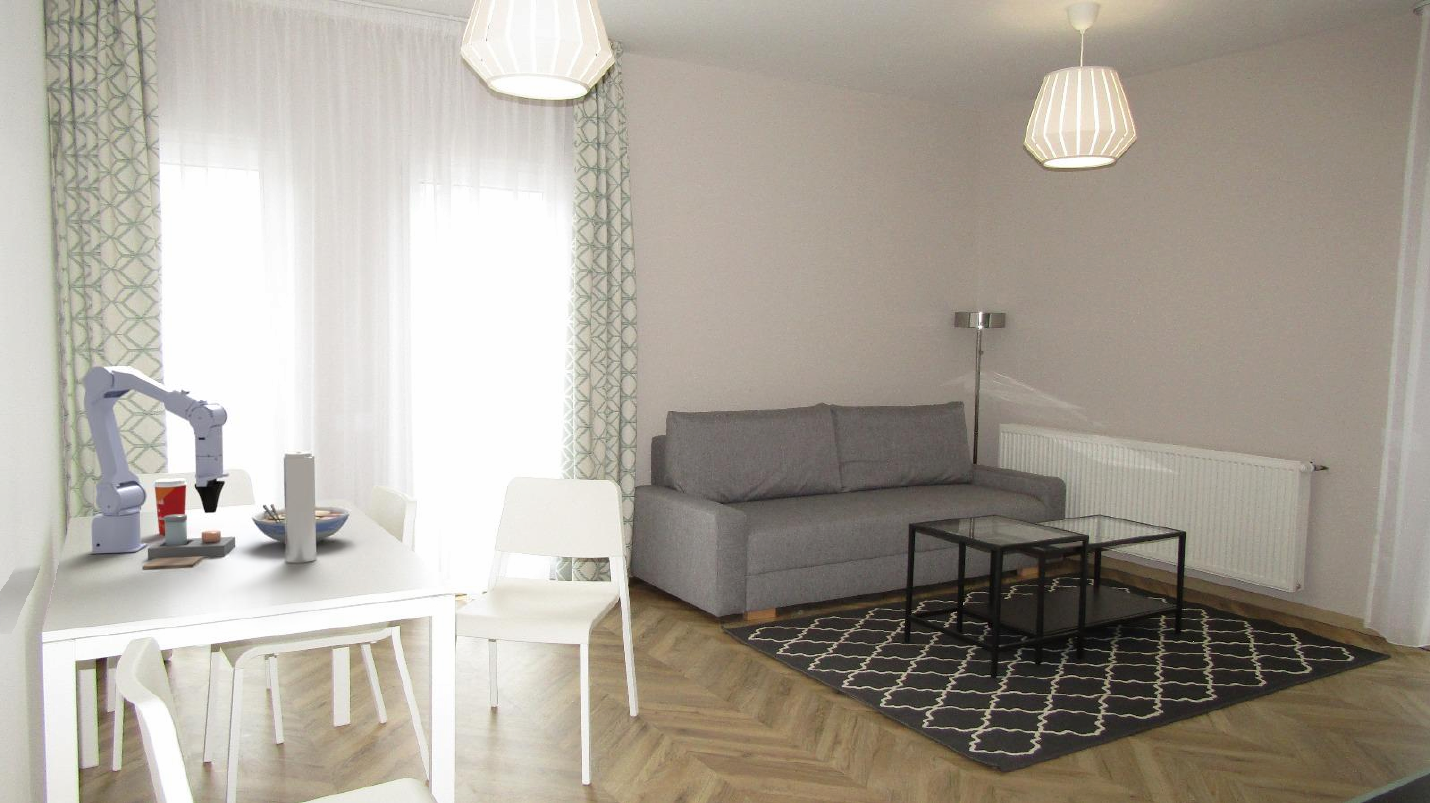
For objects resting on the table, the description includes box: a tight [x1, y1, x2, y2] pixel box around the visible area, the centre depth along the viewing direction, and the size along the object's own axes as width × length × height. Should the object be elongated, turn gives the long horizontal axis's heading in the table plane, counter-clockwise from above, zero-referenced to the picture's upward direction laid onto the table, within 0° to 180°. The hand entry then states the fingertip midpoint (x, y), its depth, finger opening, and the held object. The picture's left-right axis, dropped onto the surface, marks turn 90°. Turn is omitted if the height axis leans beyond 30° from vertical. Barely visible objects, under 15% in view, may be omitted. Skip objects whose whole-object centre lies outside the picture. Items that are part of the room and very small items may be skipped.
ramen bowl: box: [251, 504, 352, 544], centre depth 233 cm, size 25×23×8 cm
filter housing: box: [147, 536, 236, 560], centre depth 220 cm, size 16×10×2 cm, turn 104°
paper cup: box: [153, 477, 188, 536], centre depth 242 cm, size 8×8×14 cm
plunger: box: [201, 530, 222, 542], centre depth 221 cm, size 4×4×2 cm
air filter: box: [283, 451, 317, 564], centre depth 213 cm, size 6×6×25 cm
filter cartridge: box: [164, 513, 188, 546], centre depth 219 cm, size 5×5×9 cm
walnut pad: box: [142, 556, 204, 570], centre depth 210 cm, size 10×8×1 cm
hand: (210, 512), depth 221 cm, fingers closed
